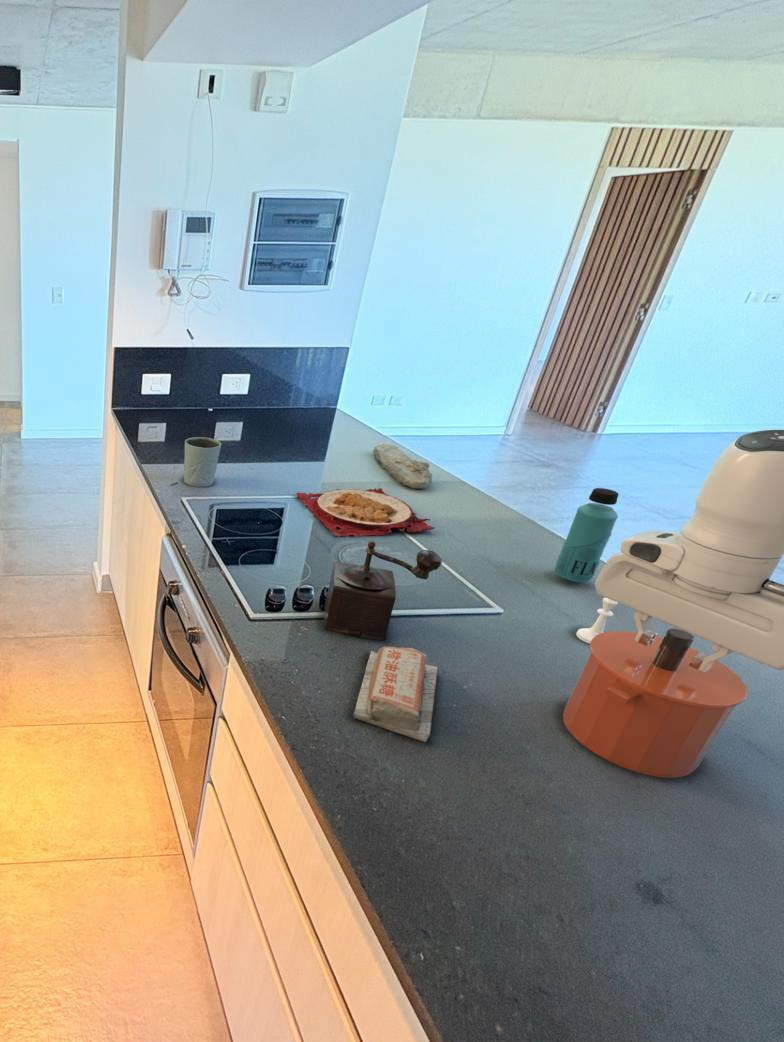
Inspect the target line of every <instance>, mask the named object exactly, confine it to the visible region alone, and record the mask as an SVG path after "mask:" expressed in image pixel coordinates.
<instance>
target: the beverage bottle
mask: <svg viewBox="0 0 784 1042" xmlns="http://www.w3.org/2000/svg"><path fill="white" fill-rule="evenodd" d="M618 498H619V492H617V491H616V490H613V489H610V488H602V487H595V488H593V489H592V491H591V493H590V495H589V497H588V500H589V501H591V502H588V503H585V504H583V505H580V506H578V507H577V509H576V512H575V515H574V518H573V520H572V523H571V526H570V528H569V531H568V534H567V536H566V539H565V540H564V542H563V544H562V547H561V549H560V552H559V555H558V557H557V560H556V561H555V565H554V573H555V574H556V575H557V576H559V577H560V578H562V579H565V580H567V581H572V582H576V583H577V582H578V583H587V582H590V581H591V579H593V577H594V576H595V573H596V572H597V570H598V566H599V565H600V563H601V562H600V561H601V560H602V559H601V558H603V554H604V550H605V548H606V547H607V545H608V543H609V540H610V538H611V536H612V531H613V530H614V527H615V524H616V522H617V520H618V517H619V515H618V513H617V512H616V510H615V509H614V508H613V507H611V506H612V505H616V504H617V502H618Z"/></svg>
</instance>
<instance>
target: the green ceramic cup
mask: <svg viewBox="0 0 784 1042" xmlns="http://www.w3.org/2000/svg"><path fill="white" fill-rule="evenodd" d="M221 448H222V442H221V441H219V440H217V439H215V438H211V437H205V436H193V437H189V438H186V439H185V440H184V457H183V458H184V460H183V471H184V472H183V483H184V484H186V485H188V486H191V487H195V488H197V487H198V488H205V487H210V486H212V485H213V484H214V482H215V477H216V472H217V466H218V463H219V462H218V461H219V457H220V452H221Z"/></svg>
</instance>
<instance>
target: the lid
mask: <svg viewBox="0 0 784 1042" xmlns="http://www.w3.org/2000/svg"><path fill="white" fill-rule="evenodd" d="M637 633H638V632H634V631H623V630H622V631H621V630H613V631H606V632H605V631H604V633H601V634H598V635H596V636H595V637H594V638H593V639H592V640H591V642H590V644H589V648H588V649H589V653H590V652H591V654H592V656H593V657H594V659H595V660H596V661H597V662H598V663H599V664H600V665H601V666H602V667H603V668H605V669H606V670H607V671H609V672H610V673H611V674H613V675H614V676H616V677H618V678H619V679H621V680H623V681H625V682H626V683H628V684H630V685H632V686H634V687H636V688H639V689H641V690H643V691H646V692H648V693H650V694H653V695H656V696H659V697H662V698H665V699H668V700H671V701H675V702H678V703H682V704H687V705H692V706H698V707H706V708H729V707H733V706H735V707H736V706H738V705H740V704H742V703H743V702H744V701H745V700H746V698H747V696H748V689H747V686H746V684H745V682H744V681H743V679H741V677H739V675H738V674H737V673H736V672H735V671H733V670H732V669H730V668H729V667H727V666H726V665H725V664H723V663H722V662H720V661H718V659H717V660H715V661H714V663H713V664H712V666H711V668H710V669H709V670H708V671H706V672H701V671H699V670H697V669H695V668H693V667H691V666H689V664H690V663H691V662H693V661H692V659H693V657H694V656H695V655H697V654H699V653H701V652H702V651H699V650H697V649H695V648H692V647H691V646H692V644H693V643H694V641H695V635H694V634H691V633H689V632H687V631H684V630H682V629H679V628H668V629H666V632H665V633H664V636H663V637H660V636H657V637H656V638H655V641H654V643H653V644H652V645H649V646H645V645H643V644H640V643H638V642H636V641H634V639H635V637H636V635H637Z"/></svg>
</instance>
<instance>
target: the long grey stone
mask: <svg viewBox="0 0 784 1042" xmlns="http://www.w3.org/2000/svg"><path fill="white" fill-rule="evenodd" d="M372 452H373V455H374V456H375V459H377V461H378V462H379V463H380V464H381V467H382V468H384V469H385V470H386V471H387V472H388V474H389V475H391V476H392V477H393V478H394V479H395V480H396V481H397V482H398V483H399V484H403V485H404V486H407V487H410V488H411V489H427V488H428V486H429V485H431V484H432V480H433V474H432V473H431V472H430V470H429V468H430V464H429V463H428V462H425V461H417V460H412V459H411V458H410V456H408V455H406V453H404V452H403V451H401V450H400V449H399V447H397V446H394V445H393V444H385V443H383V444H378V445H376V446H375V447H374V449H373V450H372Z"/></svg>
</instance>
